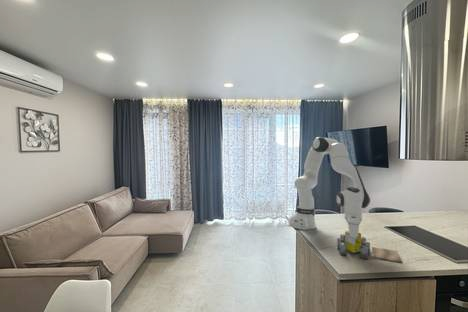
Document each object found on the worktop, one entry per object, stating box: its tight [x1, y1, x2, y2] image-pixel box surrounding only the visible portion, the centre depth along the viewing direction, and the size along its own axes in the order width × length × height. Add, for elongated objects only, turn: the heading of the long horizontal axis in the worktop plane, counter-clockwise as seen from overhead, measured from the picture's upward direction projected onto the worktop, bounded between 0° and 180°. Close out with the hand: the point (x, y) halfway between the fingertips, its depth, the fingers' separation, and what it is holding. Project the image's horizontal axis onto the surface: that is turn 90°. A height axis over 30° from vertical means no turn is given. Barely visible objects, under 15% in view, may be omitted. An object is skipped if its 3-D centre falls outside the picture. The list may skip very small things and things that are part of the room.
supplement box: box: [344, 230, 362, 255], centre depth 130 cm, size 6×6×11 cm
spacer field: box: [336, 233, 371, 261], centre depth 130 cm, size 17×18×6 cm
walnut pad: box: [371, 246, 403, 264], centre depth 124 cm, size 12×14×1 cm
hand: (353, 240), depth 130 cm, fingers open, 8 cm apart
